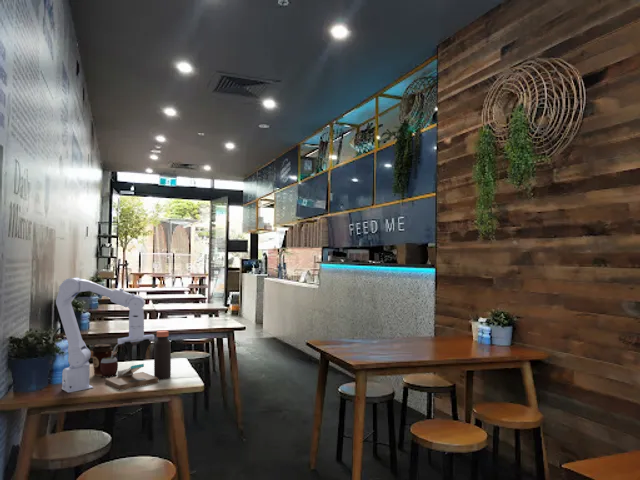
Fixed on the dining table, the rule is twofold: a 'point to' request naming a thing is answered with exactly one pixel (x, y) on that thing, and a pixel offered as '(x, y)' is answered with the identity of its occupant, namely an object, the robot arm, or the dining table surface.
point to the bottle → (162, 355)
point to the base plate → (130, 380)
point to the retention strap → (132, 369)
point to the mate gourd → (109, 366)
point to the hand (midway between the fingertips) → (136, 359)
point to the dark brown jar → (100, 356)
